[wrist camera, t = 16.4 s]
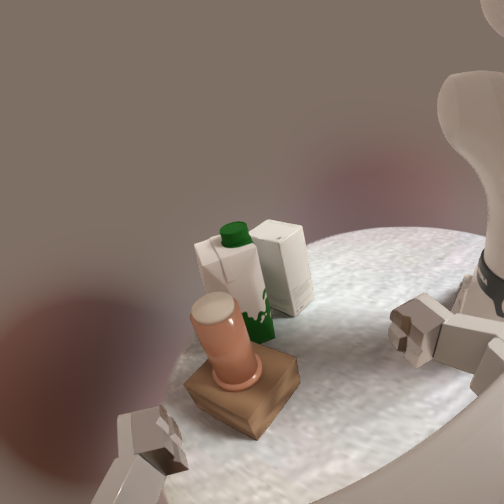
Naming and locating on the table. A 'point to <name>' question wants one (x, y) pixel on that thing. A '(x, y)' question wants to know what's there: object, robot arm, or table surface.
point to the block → (248, 393)
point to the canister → (226, 341)
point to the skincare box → (284, 265)
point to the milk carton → (237, 276)
